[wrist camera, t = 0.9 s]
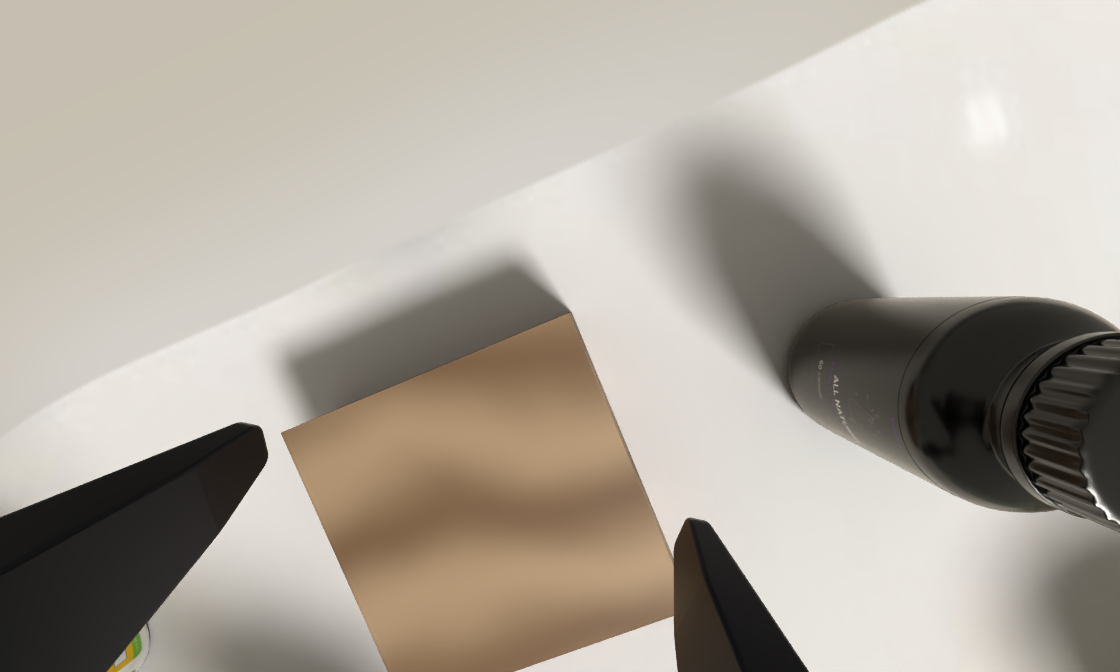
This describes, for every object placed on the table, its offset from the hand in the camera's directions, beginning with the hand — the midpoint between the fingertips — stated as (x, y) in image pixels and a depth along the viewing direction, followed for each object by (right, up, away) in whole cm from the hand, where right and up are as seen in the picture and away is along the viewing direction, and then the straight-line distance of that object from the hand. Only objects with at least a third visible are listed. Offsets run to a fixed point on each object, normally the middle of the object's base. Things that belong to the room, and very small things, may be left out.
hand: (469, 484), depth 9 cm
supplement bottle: (+17, +2, +13) cm, 21 cm away
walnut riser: (-1, -5, +14) cm, 15 cm away
